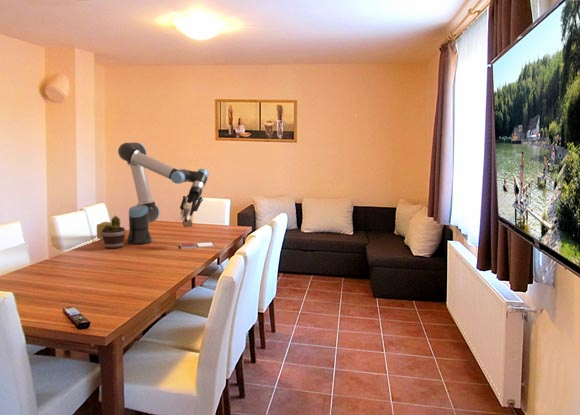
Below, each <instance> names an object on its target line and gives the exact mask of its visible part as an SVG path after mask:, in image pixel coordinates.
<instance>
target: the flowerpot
mask: <svg viewBox="0 0 580 415" xmlns="http://www.w3.org/2000/svg"><path fill="white" fill-rule="evenodd" d="M110 222H112V225H113V226H112V225H111V226H112V227H111V226H110V224H109V225H107V226H105V227H104V229H102V231H101V232H100V234H101V236H103V239H102V240H103V241H104V242H103V246H104V247H105V249H110V250H113V249H120V248H123V246H124V245H125V241H124V240H125V235H126V234H127V230H126V229H125V227H123V226H121V225H122V224H121V218H120V217H118V216H117V215H116V214H115V215H114V216H113V217H112V218H111V219H110Z"/></svg>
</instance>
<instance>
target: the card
mask: <svg viewBox="0 0 580 415" xmlns="http://www.w3.org/2000/svg"><path fill="white" fill-rule="evenodd" d="M194 243H195V245H196V248H210V247H211V248H213V247H216V245H215V243H214V241H206V242H194Z"/></svg>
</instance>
